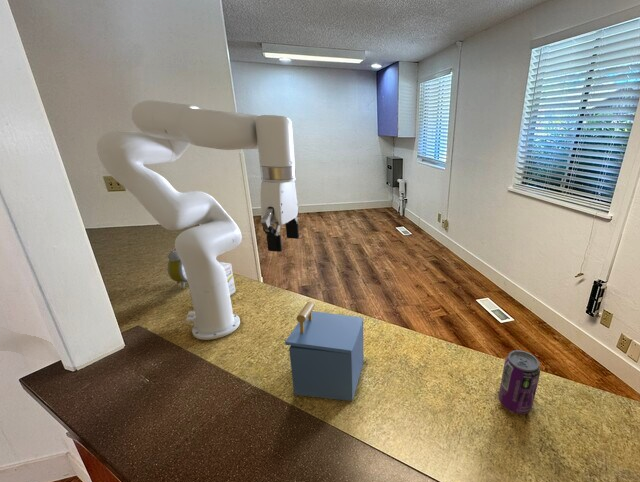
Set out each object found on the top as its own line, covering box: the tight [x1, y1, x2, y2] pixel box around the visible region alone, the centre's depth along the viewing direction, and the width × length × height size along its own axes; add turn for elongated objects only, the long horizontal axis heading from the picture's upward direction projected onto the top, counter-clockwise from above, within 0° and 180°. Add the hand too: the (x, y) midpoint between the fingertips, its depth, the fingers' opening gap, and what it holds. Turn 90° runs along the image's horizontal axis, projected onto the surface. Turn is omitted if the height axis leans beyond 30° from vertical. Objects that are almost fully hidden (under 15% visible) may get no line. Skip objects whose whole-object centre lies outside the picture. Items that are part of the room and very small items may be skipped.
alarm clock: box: [166, 249, 188, 290], centre depth 116 cm, size 12×7×15 cm, turn 179°
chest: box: [288, 321, 365, 402], centre depth 72 cm, size 14×13×13 cm
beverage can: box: [498, 349, 541, 415], centre depth 66 cm, size 7×7×12 cm
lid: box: [284, 301, 364, 354], centre depth 69 cm, size 14×13×6 cm
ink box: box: [218, 261, 236, 296], centre depth 108 cm, size 9×8×12 cm
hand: (284, 244), depth 75 cm, fingers open, 9 cm apart
